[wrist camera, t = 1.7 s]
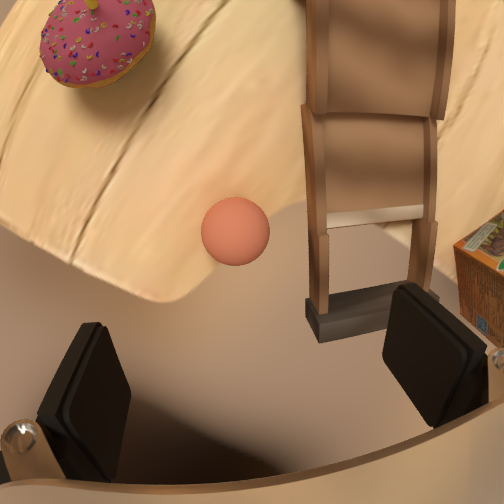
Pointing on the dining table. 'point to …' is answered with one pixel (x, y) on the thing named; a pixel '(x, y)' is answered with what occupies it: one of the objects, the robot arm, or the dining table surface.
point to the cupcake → (96, 40)
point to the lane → (372, 140)
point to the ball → (235, 231)
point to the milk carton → (483, 278)
